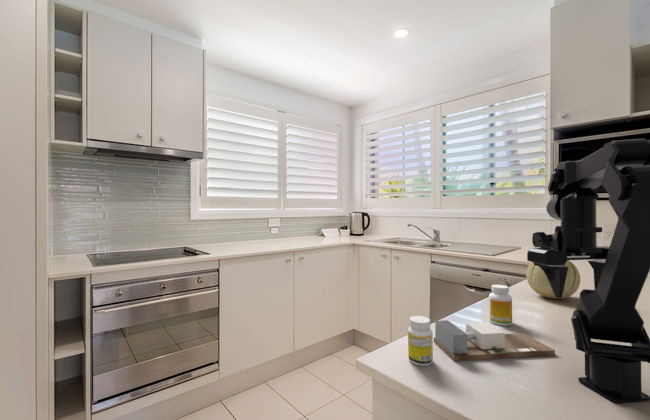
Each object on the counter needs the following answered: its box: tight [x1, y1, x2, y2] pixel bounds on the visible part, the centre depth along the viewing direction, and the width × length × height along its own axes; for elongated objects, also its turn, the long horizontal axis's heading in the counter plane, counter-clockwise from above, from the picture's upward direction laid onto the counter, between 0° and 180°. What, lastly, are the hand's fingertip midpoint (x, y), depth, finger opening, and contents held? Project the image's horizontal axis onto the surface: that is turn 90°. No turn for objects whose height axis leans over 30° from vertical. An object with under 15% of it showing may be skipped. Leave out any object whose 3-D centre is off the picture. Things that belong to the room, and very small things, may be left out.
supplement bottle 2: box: [488, 284, 513, 327], centre depth 82 cm, size 5×5×10 cm
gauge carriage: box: [465, 321, 506, 353], centre depth 66 cm, size 8×8×3 cm
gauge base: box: [433, 332, 556, 362], centre depth 67 cm, size 22×9×1 cm, turn 95°
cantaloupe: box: [525, 260, 581, 300], centre depth 104 cm, size 15×15×15 cm
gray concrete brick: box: [434, 319, 467, 355], centre depth 66 cm, size 3×8×4 cm, turn 6°
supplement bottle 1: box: [407, 315, 434, 367], centre depth 62 cm, size 5×5×8 cm
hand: (578, 297), depth 64 cm, fingers open, 9 cm apart
